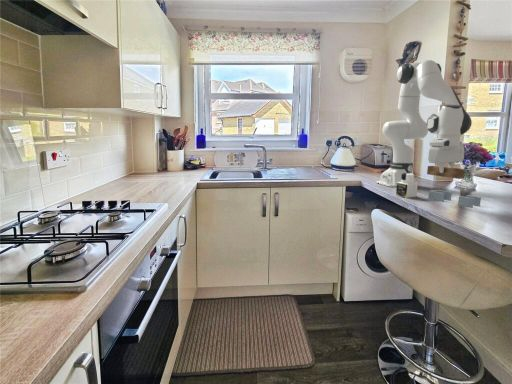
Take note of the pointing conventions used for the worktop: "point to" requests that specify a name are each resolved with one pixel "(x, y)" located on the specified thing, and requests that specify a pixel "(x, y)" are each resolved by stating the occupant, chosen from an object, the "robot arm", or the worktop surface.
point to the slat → (446, 172)
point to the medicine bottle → (407, 186)
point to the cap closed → (439, 195)
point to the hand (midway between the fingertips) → (445, 172)
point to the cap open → (469, 201)
